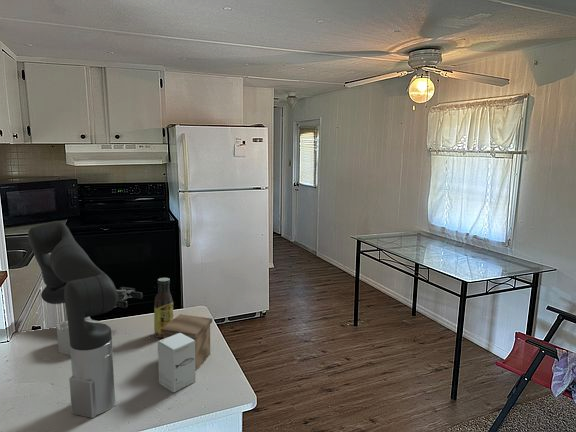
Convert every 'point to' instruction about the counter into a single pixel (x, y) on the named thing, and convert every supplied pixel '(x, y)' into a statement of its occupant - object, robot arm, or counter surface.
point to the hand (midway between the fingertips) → (134, 300)
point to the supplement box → (176, 361)
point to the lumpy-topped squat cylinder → (67, 335)
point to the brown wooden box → (192, 334)
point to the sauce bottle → (162, 307)
